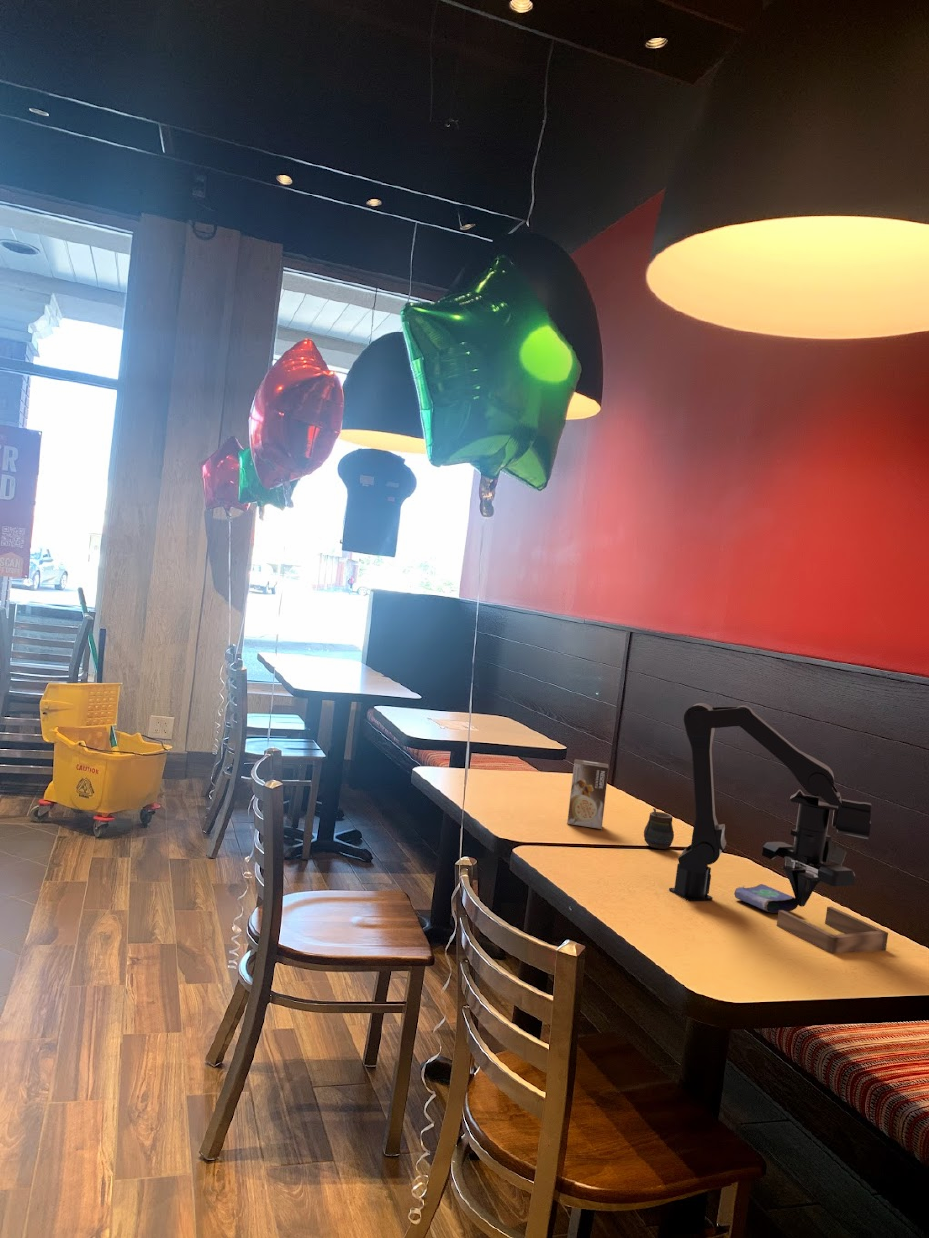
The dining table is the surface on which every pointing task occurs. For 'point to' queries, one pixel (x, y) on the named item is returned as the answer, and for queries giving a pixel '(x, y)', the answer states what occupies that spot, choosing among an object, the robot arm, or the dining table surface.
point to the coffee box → (588, 794)
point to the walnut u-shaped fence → (854, 939)
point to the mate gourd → (659, 830)
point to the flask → (766, 898)
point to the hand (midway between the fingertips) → (801, 905)
